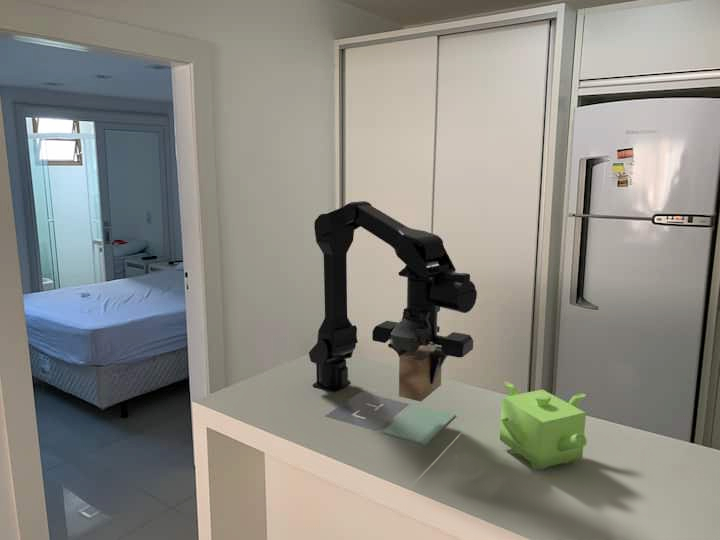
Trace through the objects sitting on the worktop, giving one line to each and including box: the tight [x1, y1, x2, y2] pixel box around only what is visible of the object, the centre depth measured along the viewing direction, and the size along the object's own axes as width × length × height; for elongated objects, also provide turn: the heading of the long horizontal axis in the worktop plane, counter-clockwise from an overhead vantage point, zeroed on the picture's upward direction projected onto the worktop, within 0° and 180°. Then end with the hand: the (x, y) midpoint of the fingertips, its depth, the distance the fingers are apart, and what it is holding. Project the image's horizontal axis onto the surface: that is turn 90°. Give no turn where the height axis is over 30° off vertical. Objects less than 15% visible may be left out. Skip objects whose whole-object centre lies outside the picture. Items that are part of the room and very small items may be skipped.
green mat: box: [382, 404, 457, 446], centre depth 110 cm, size 9×14×1 cm, turn 148°
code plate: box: [324, 391, 410, 431], centre depth 117 cm, size 12×14×1 cm
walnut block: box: [398, 344, 442, 402], centre depth 108 cm, size 5×9×8 cm, turn 148°
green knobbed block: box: [499, 381, 588, 472], centre depth 98 cm, size 15×14×11 cm
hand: (420, 380), depth 109 cm, fingers closed on walnut block, 5 cm apart
